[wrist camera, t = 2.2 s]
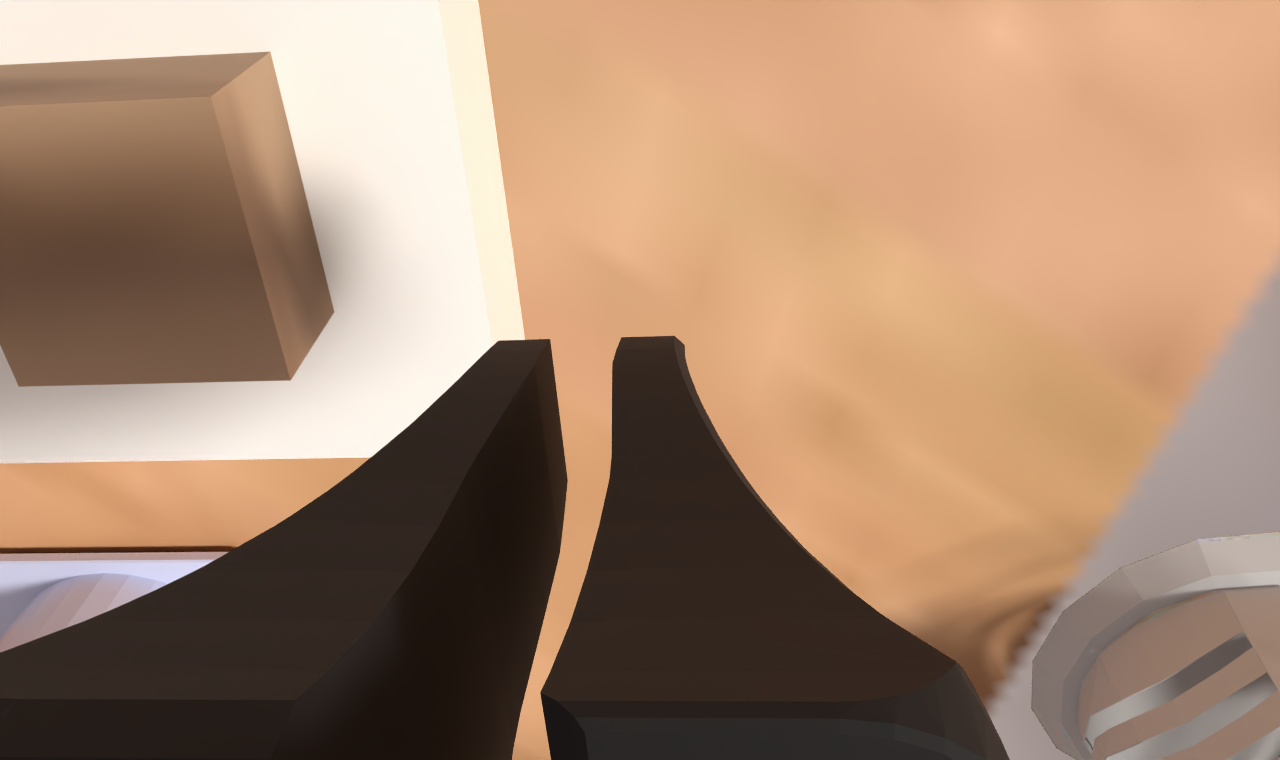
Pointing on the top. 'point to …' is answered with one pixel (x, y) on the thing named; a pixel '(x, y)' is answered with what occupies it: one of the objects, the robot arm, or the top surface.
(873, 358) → the top surface
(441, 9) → the board
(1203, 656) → the french press
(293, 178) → the walnut tile
